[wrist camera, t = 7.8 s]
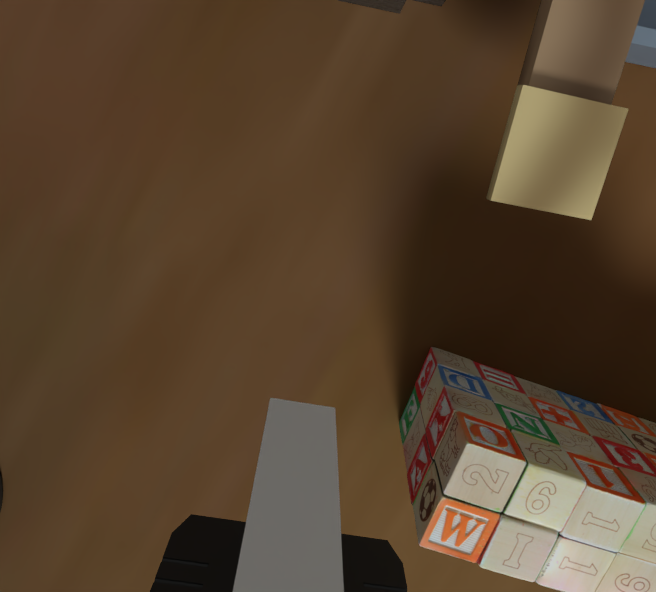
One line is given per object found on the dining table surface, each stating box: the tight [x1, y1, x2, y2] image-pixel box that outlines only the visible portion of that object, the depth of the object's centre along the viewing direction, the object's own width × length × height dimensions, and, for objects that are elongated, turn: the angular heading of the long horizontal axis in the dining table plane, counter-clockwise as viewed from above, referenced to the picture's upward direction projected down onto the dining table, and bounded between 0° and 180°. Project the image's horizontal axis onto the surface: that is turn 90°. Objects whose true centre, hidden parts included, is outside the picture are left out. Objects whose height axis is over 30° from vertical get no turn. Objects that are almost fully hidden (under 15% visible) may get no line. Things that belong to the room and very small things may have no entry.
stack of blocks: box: [399, 347, 656, 592], centre depth 33 cm, size 21×6×12 cm, turn 71°
